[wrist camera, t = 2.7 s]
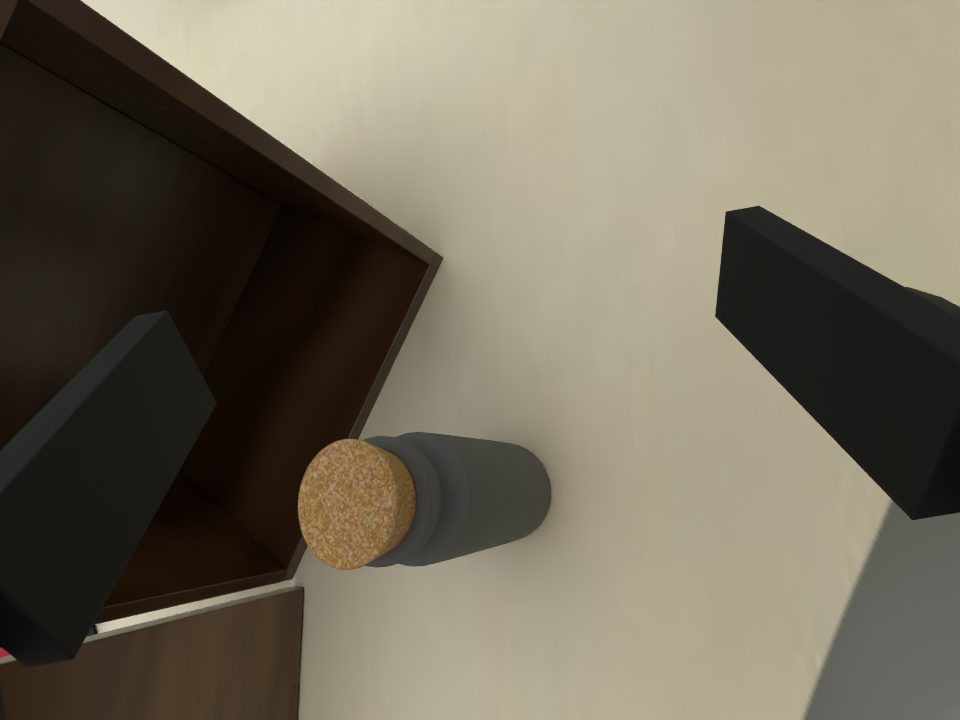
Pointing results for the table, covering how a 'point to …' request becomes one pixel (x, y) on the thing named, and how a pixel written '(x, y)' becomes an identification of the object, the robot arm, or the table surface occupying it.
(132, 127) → the cupboard
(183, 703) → the cupboard door
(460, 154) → the table surface
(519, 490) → the bottle
